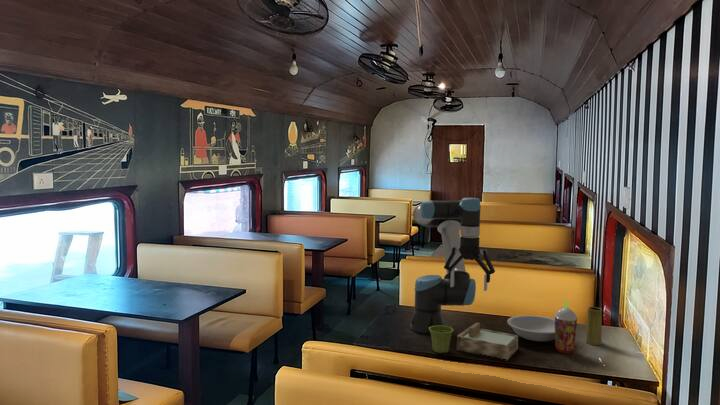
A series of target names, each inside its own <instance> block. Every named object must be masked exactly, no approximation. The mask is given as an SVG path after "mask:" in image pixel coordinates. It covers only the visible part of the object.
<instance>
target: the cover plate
mask: <svg viewBox="0 0 720 405" xmlns="http://www.w3.org/2000/svg"><path fill="white" fill-rule="evenodd" d="M468 328H469V333H468V334H466V335H465V336H464V337H468V338H473V339H478V340H483V341H489V342H494V343H499V344H504V345H508V346H509V345H510V344H511V343H513V342H514V341H515V337H514V336H508V335H503V334H497V333H492V332H487V331H481V330H480V329H481V323H480V322H475V323H473V324H472V325H471V326H469V327H468Z"/></svg>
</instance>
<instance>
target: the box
mask: <svg viewBox="0 0 720 405" xmlns="http://www.w3.org/2000/svg"><path fill="white" fill-rule="evenodd" d="M480 330H481V331H487V332H492V333H497V334H503V335H508V336H514V337H515V341H514V342H513V343H511V344H510V345H509V346H508V345H504V344H499V343H494V342H489V341H483V340H478V339H473V338H468V337H464V336H465V335H466V334H468V333H469V327H467V328H465V329H464V330H463V331H462V332H460V333H459V334H458V335H456V351H461V352H464V353H469V354H473V355H474V354H475V355H479V354H482V355H481V356H483V355H487V356H486V357H488V356H492V357H491V358H493V357H497V358H496V359H498V358H501V359H500V360H502V359H506V360H505V361H508V360H509V359H510V358H511V357H512V356H513V355H514V354H515V353H516V352H517V351H518V349H519V335H518V334H511V333H507V332H506V333H505V332H501V331H497V330H496V331H495V330H491V329H490V330H489V329H485V328H480Z"/></svg>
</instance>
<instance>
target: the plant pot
mask: <svg viewBox="0 0 720 405" xmlns="http://www.w3.org/2000/svg"><path fill="white" fill-rule="evenodd" d="M429 330H430V333H431V334H430V336H431V345H432V346H431V347H432V350H433V352H435V353H438V354H443V353H448V352H449V351H450V350H449V349H450V343H451V338H452V335H453V332H454V329H453V327H450V326H448V325H447V326H446V325H445V326H441V325H436V326H431V327H429Z"/></svg>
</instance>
